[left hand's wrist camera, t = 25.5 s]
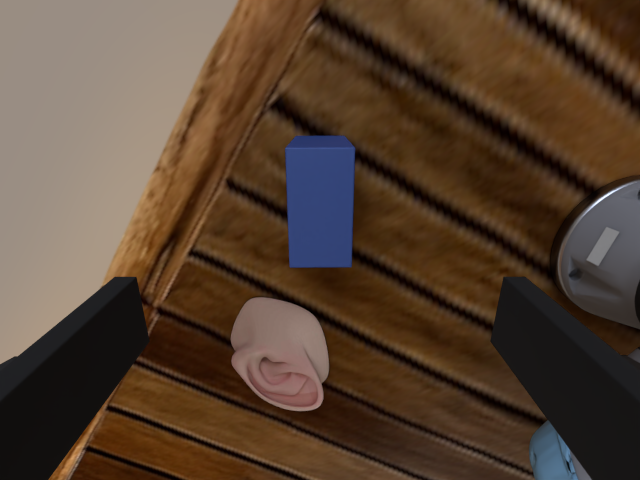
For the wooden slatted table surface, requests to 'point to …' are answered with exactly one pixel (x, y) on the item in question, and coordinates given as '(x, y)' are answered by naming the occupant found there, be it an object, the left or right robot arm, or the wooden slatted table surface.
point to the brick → (320, 201)
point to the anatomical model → (281, 353)
